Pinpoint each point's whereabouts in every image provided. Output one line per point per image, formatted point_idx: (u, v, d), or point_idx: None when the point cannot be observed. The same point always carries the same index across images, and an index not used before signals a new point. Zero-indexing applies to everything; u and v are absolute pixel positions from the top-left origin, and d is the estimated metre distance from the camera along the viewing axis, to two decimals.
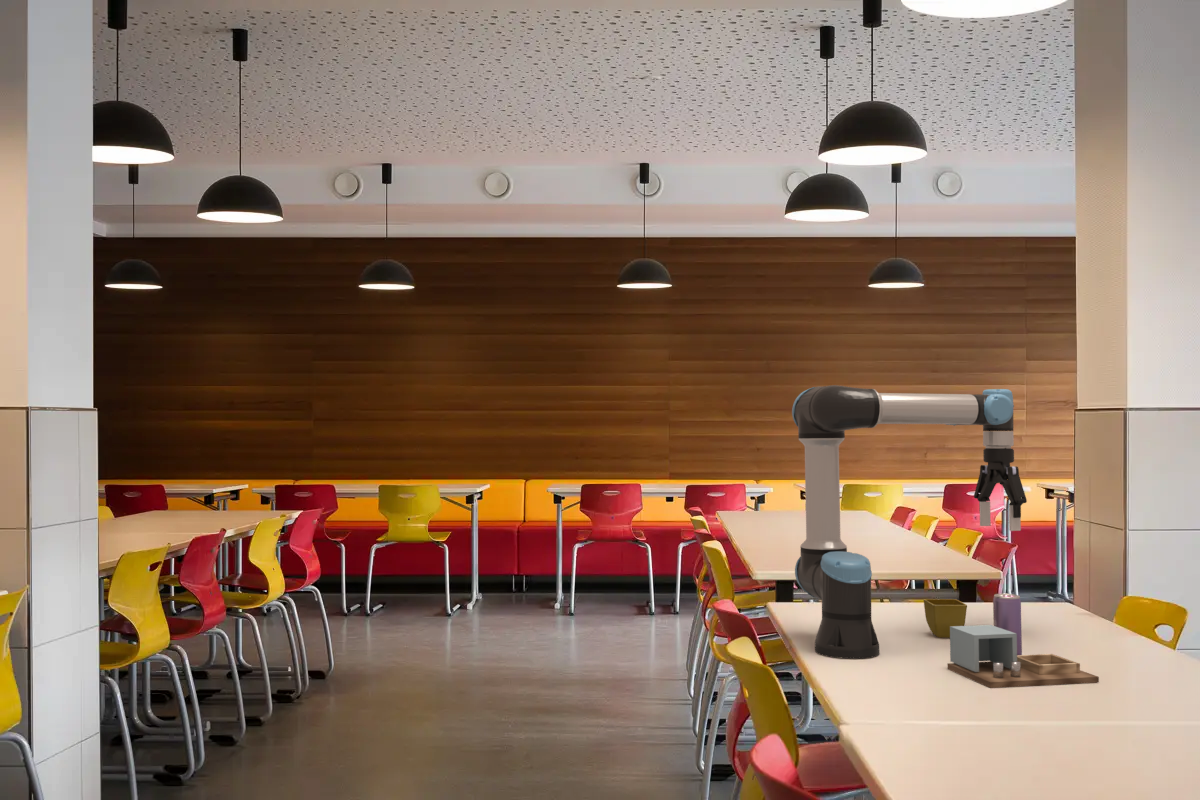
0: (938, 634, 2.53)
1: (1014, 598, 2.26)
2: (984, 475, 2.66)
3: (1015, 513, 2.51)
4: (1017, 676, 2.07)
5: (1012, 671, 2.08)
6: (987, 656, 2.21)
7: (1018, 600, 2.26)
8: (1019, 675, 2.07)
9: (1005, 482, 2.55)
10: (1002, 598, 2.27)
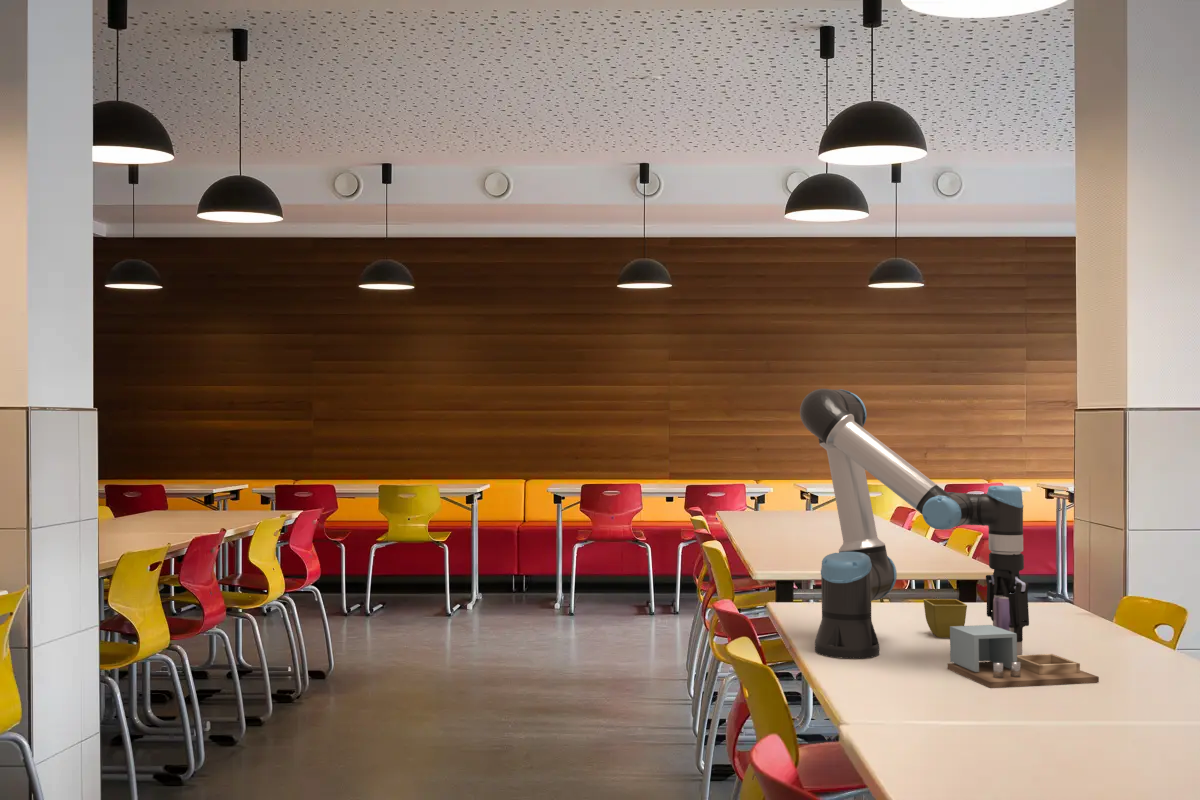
0: (938, 634, 2.53)
1: None
2: (992, 586, 2.34)
3: None
4: (1017, 676, 2.07)
5: (1012, 671, 2.08)
6: (987, 656, 2.21)
7: None
8: (1019, 675, 2.07)
9: (1010, 597, 2.26)
10: (1002, 598, 2.27)
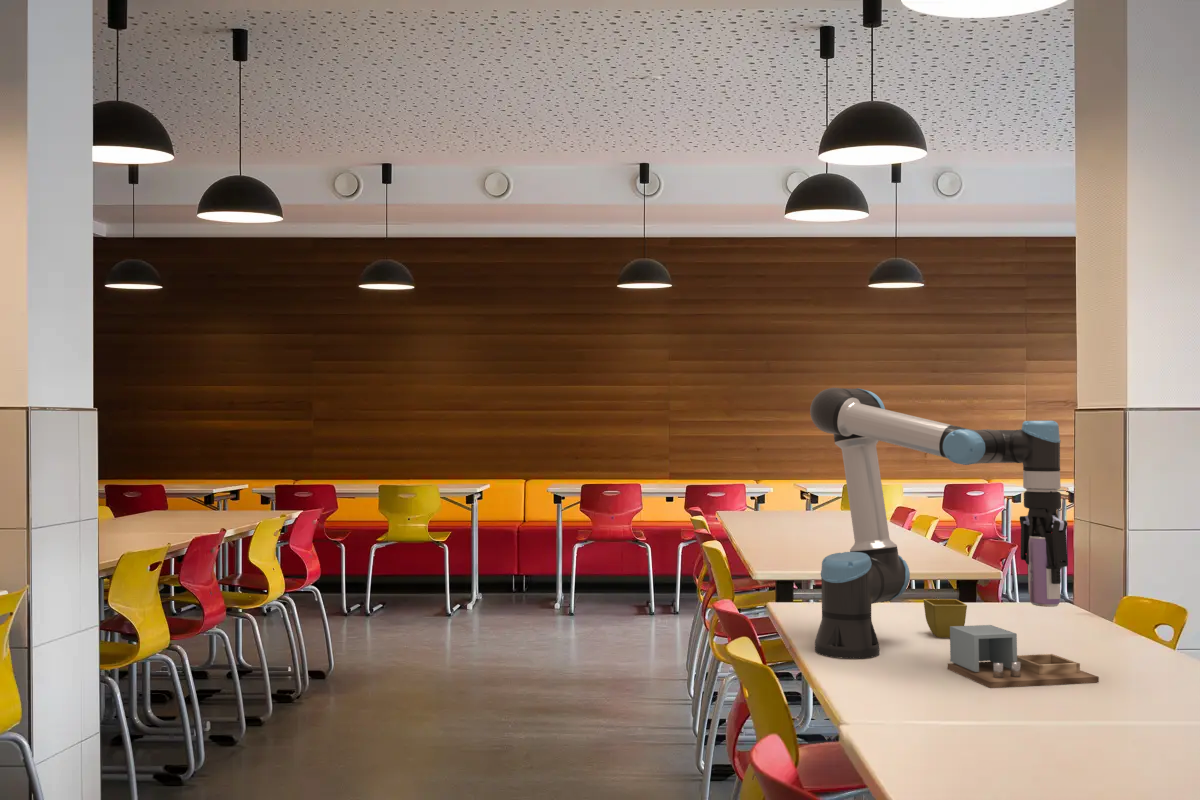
0: (938, 634, 2.53)
1: None
2: (1027, 527, 2.21)
3: (1054, 578, 2.11)
4: (1017, 676, 2.07)
5: (1012, 671, 2.08)
6: (987, 656, 2.21)
7: None
8: (1019, 675, 2.07)
9: (1047, 537, 2.13)
10: (1039, 538, 2.14)
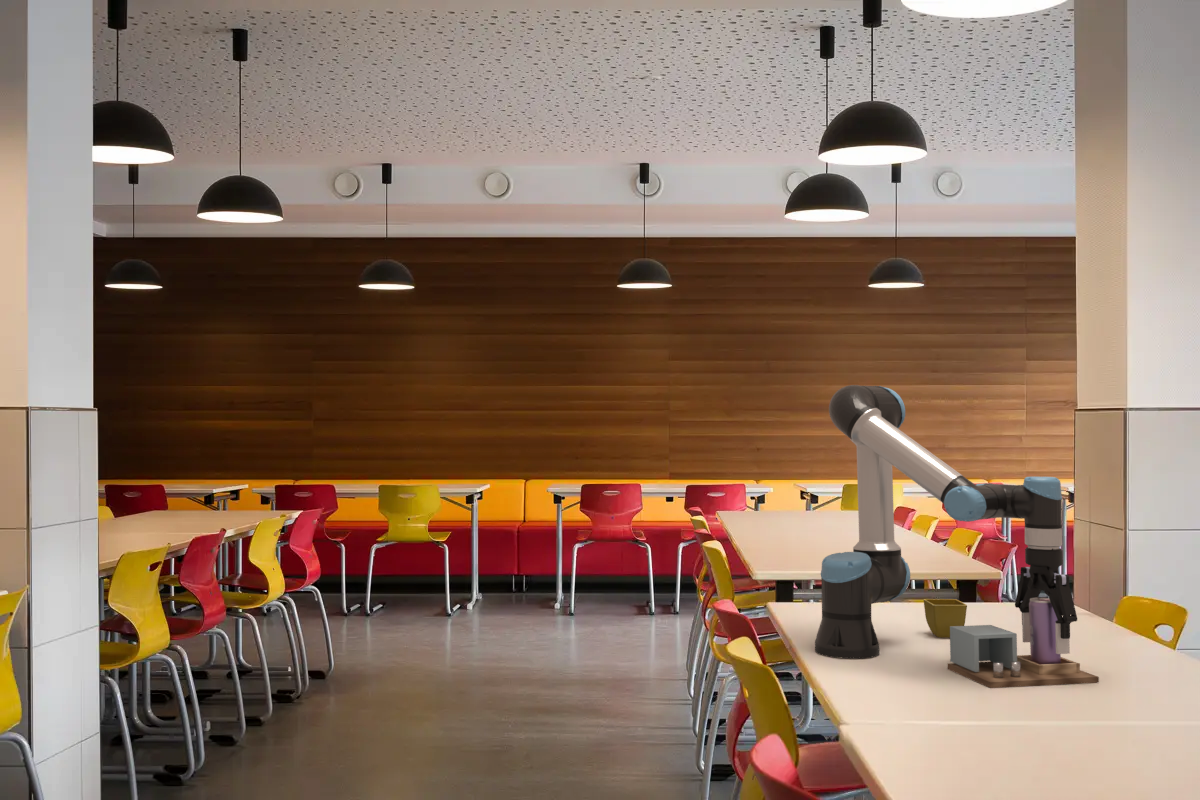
0: (938, 634, 2.53)
1: None
2: (1026, 579, 2.21)
3: (1063, 633, 2.08)
4: (1017, 676, 2.07)
5: (1012, 671, 2.08)
6: (987, 656, 2.21)
7: None
8: (1019, 675, 2.07)
9: (1052, 592, 2.12)
10: (1039, 602, 2.14)
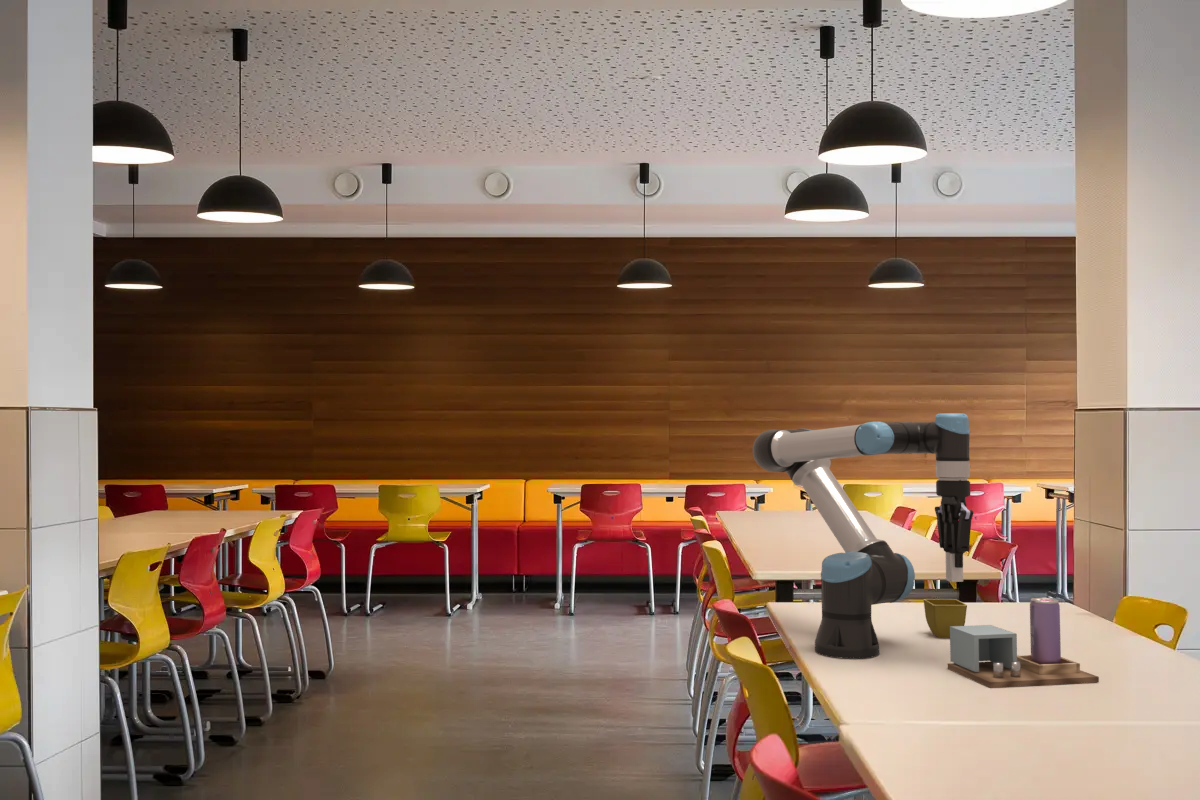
0: (938, 634, 2.53)
1: (1053, 602, 2.13)
2: (942, 516, 2.33)
3: (956, 562, 2.27)
4: (1017, 676, 2.07)
5: (1012, 671, 2.08)
6: (987, 656, 2.21)
7: (1057, 604, 2.13)
8: (1019, 675, 2.07)
9: (955, 524, 2.27)
10: (1040, 602, 2.13)
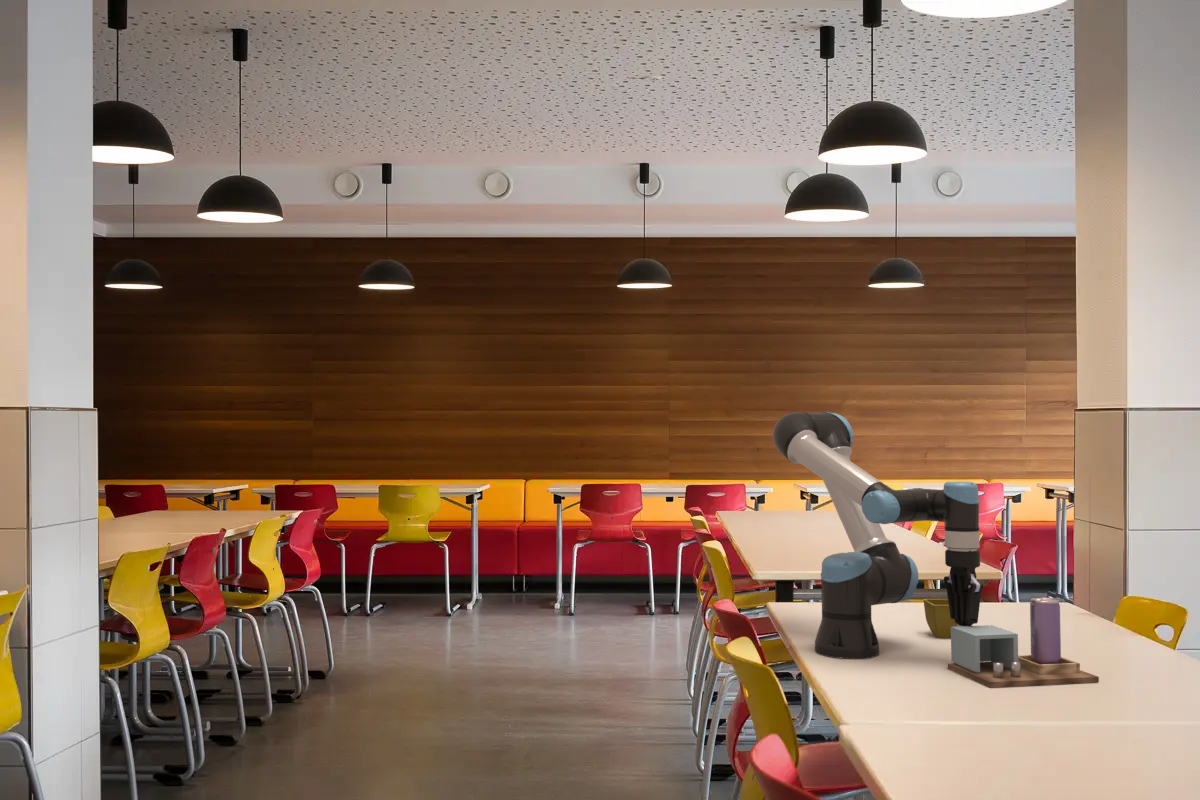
0: (938, 634, 2.53)
1: (1053, 602, 2.13)
2: (951, 586, 2.29)
3: None
4: (1017, 676, 2.07)
5: (1012, 671, 2.08)
6: (988, 656, 2.21)
7: (1057, 604, 2.13)
8: (1019, 675, 2.07)
9: (964, 595, 2.23)
10: (1040, 602, 2.13)
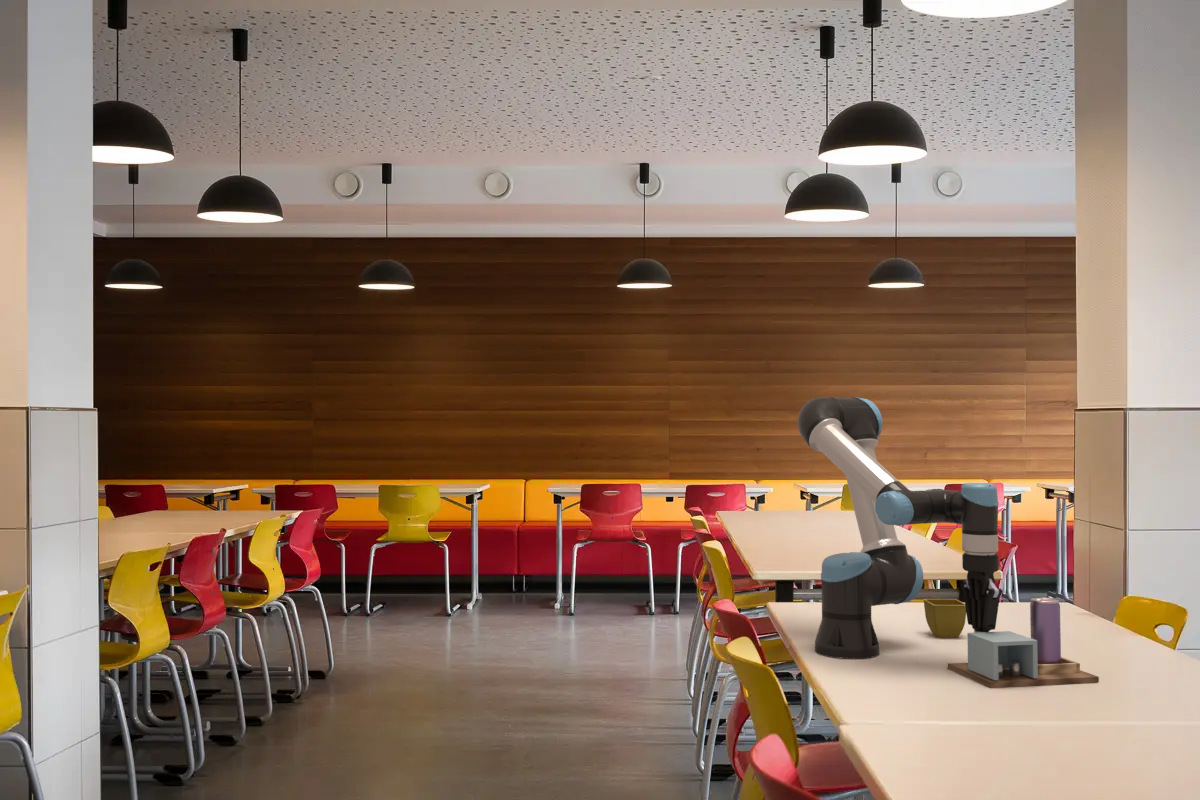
0: (938, 634, 2.53)
1: (1053, 602, 2.13)
2: (968, 591, 2.22)
3: None
4: (1017, 676, 2.07)
5: (1012, 671, 2.08)
6: (1006, 663, 2.14)
7: (1057, 605, 2.13)
8: (1019, 675, 2.07)
9: (981, 601, 2.16)
10: (1040, 602, 2.13)
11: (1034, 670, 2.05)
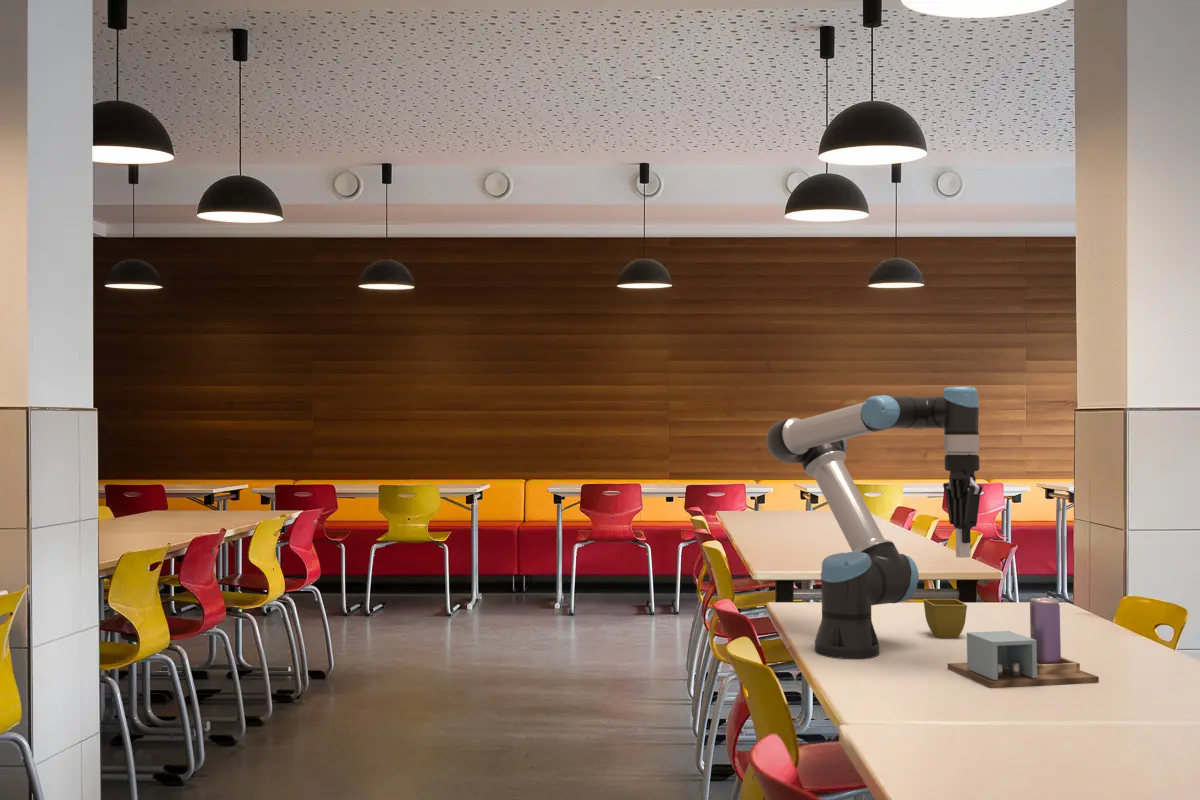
0: (938, 634, 2.53)
1: (1053, 602, 2.13)
2: (950, 492, 2.29)
3: (964, 538, 2.23)
4: (1017, 676, 2.07)
5: (1012, 671, 2.08)
6: (1005, 663, 2.14)
7: (1057, 604, 2.13)
8: (1019, 675, 2.07)
9: (963, 499, 2.23)
10: (1040, 602, 2.13)
11: (1033, 670, 2.06)
